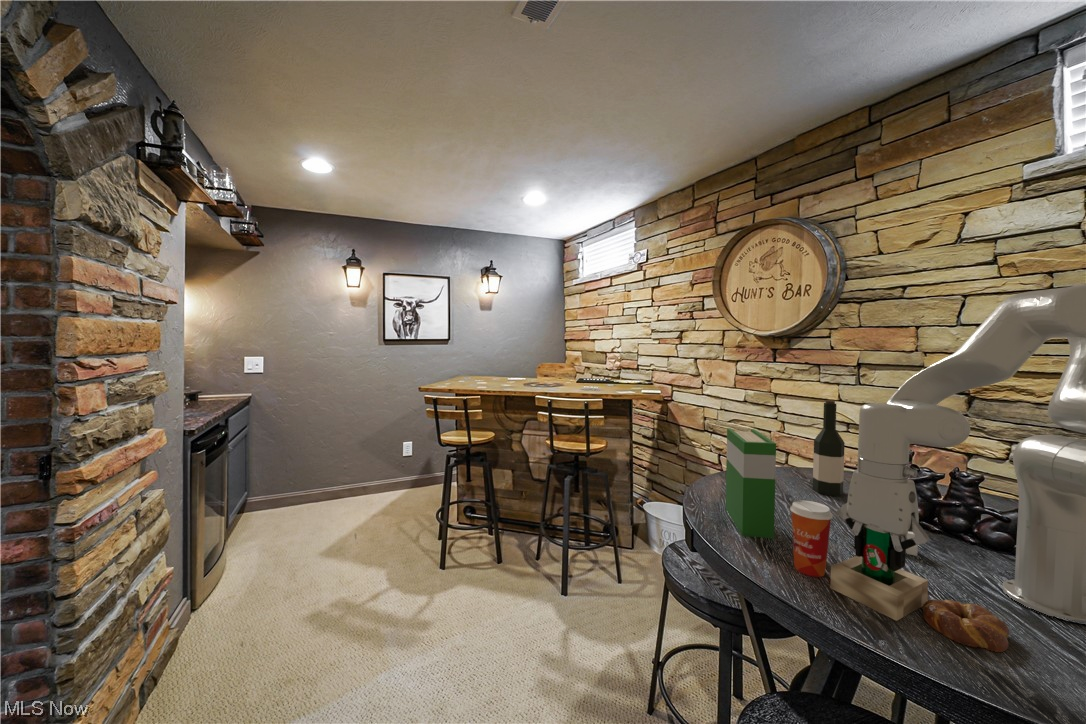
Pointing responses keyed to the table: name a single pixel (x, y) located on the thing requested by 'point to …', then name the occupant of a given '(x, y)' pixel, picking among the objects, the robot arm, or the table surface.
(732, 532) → the table surface
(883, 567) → the soda can
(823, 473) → the wine bottle
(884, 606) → the holder
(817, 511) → the paper cup
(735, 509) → the hardback book
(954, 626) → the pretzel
